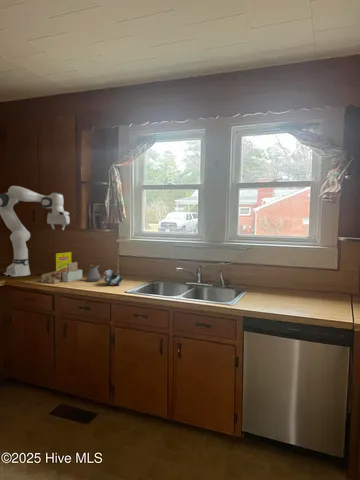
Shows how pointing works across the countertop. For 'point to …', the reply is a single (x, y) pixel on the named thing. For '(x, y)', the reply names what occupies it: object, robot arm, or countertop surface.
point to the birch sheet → (72, 267)
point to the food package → (62, 261)
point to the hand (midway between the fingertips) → (58, 229)
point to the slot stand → (72, 276)
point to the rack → (50, 278)
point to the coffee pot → (94, 273)
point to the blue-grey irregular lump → (111, 278)
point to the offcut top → (58, 274)
